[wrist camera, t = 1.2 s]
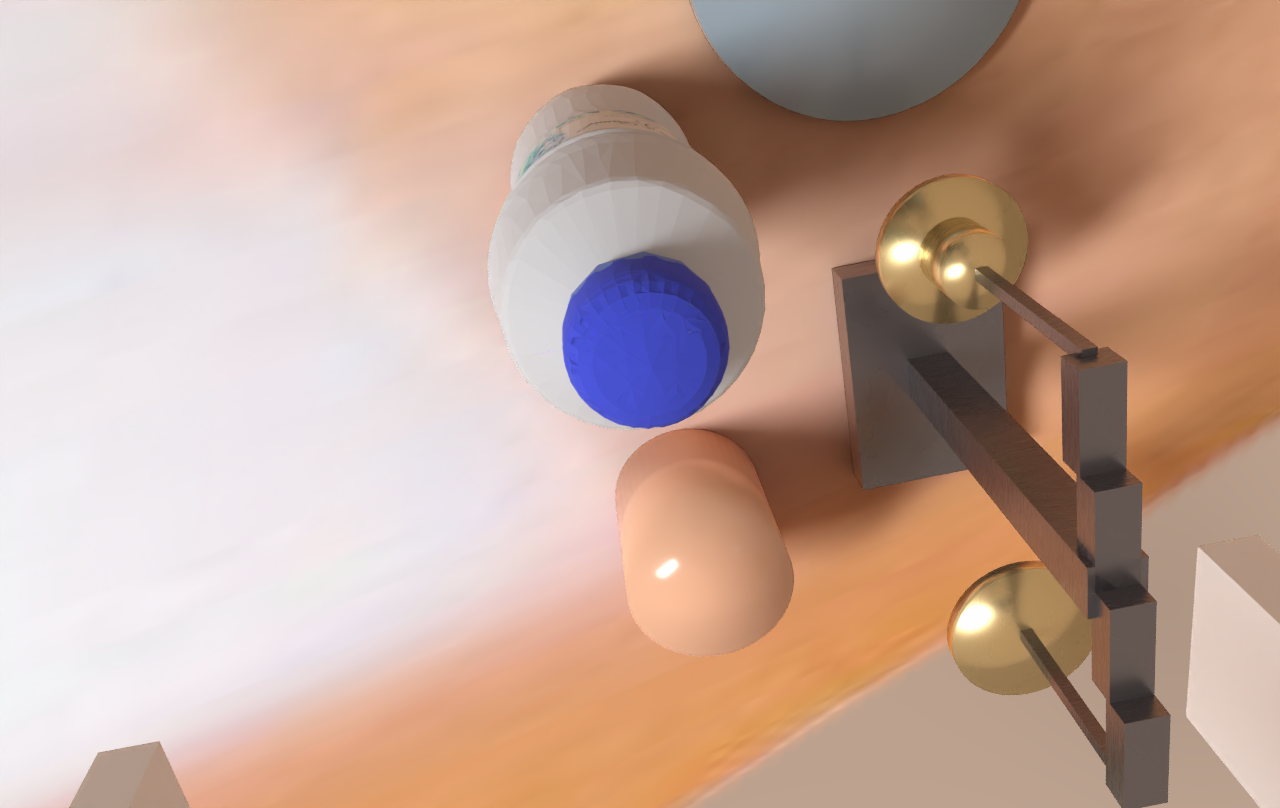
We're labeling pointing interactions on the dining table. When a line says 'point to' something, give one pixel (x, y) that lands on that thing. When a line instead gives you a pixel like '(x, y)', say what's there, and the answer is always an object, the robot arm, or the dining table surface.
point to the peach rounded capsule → (700, 545)
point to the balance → (1009, 464)
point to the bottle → (623, 264)
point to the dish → (851, 49)
